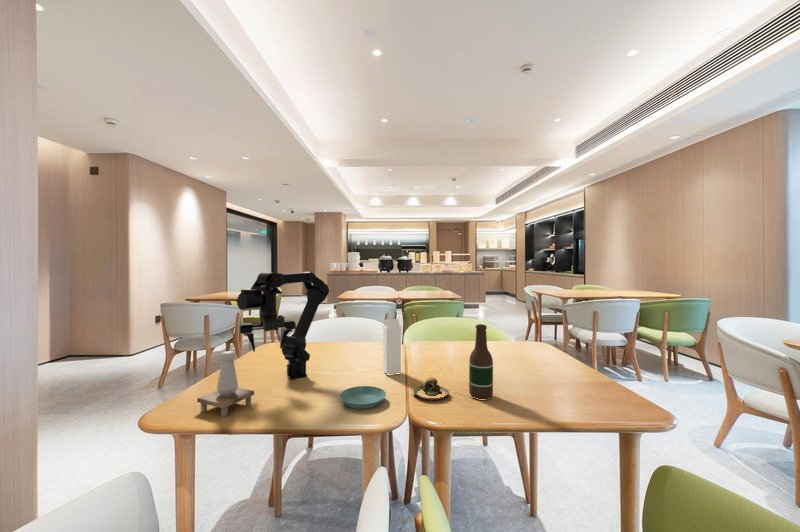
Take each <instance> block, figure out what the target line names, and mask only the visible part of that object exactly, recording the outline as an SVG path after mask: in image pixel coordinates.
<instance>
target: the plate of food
mask: <svg viewBox="0 0 800 532" xmlns="http://www.w3.org/2000/svg"><path fill="white" fill-rule="evenodd" d="M420 390H423V391H424V392H425V394H426V395H428V396H436V395H438V394H442V391H444V392H445V394H446V395H445V396H444V397H440V398H425V397H421V396H418V394H417V393H418V391H420ZM440 390H442V391H440ZM414 395H415V396H417V397H418V398H421V399H425V400H441V399H443V398H446V397H448V396H449V397H450V393H449V390H448V389H447V388H445V387H443V386H441V385H439V383H438V380H437V378H435V377H432V376H430V377H428V378H426V379H425V381H424V385H422V384H421V385H420V386H417V387H416V388H414V390H413V396H414Z"/></svg>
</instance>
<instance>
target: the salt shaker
mask: <svg viewBox="0 0 800 532" xmlns="http://www.w3.org/2000/svg"><path fill="white" fill-rule="evenodd" d="M236 357H237V354H236V352H235V350H227V351H222V352H221V353H220V354H219V359H220V361H221V365H220V370H219V376H218V380H217V385H216V389H217V390H218V392H219V393H220V395H221V396H222V397H228V396H231V395H234V393H235V392H236V390H237V388H239V383H238V377H237V373H236V372H237V371H236V365H235V361H234V360H235V359H236ZM217 390H216V391H217Z"/></svg>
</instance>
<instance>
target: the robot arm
mask: <svg viewBox="0 0 800 532" xmlns="http://www.w3.org/2000/svg"><path fill="white" fill-rule="evenodd" d="M296 283H303V287H304V288H305V289H306V290H307V292H306V298H307V301H306V303H305V306H304V308H303V310H302V313H301V315H300V317H299V320H298V322H297V324H296V321H294V320H293V319H285V315H283V314H281V315H280V314H279V315H278V314H277V295H281V294H282V291H281V290H280V289H279V288H280V287H282V286H283V285H288V284H296ZM329 292H330V289H329V285H327V284H326V283H325V282H324V281H323V279H321V278H319V277H317V276H316V275H315V273H314V272H312V271H303V272H293V273H292V272H291V273H280V272H268V271H267V272H264V271H263V272H260V273H258V275H257V277H256V280H255V282H254V283H253V284H252V286H251V288H250V289H241V290H240V293H239V294H238V296H237V299H236V304H237V307H238V309H239V310H241V311H245V310H246V311H247V310H254V309H258V310H259V312H258V313H259V318H258V320H259V324H253V323H252V322H241V323H239V324H238V332H239V333H240V334H241V335H243V336H244V337H247V338H248V340H249V343H250V346H251V349H252V351H253V353H255V352H256V346H255V338H254V337H255V336H254V335H255V334H254V332H253V331H256V330H257V331H258V330H263V331H265V332H269V331H278V330H279V328H280V338H279V349H280V350H281V352H282V353H281V354H283V356H284V359H285V360H286V361H287V364H286V375H287V377H288V378H289V379H290V380H292V379H299V378H305V377H308V374H307V362H309V360H310V357H311V354H310V353H309V352H308V351H307V350H306V347H307V339H306V338H307V335H308V332H309V330H310V327H311V324H312V322H313V320H314V318H315V316H316V313H317V310H318V307H319V306H320V304H322V303H323V302H324V301H325V300H326V298H327V297H328V295H329V294H330V293H329ZM293 330H294V331H293ZM292 331H293V333H292V334H291V335H288V334H289V333H290V332H292Z"/></svg>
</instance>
